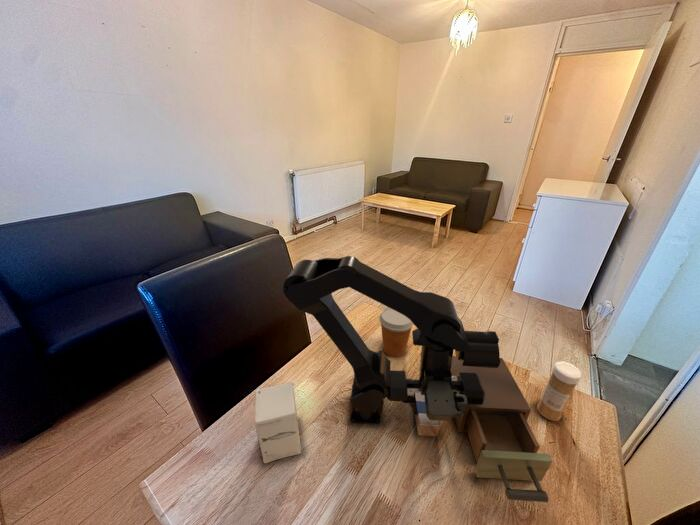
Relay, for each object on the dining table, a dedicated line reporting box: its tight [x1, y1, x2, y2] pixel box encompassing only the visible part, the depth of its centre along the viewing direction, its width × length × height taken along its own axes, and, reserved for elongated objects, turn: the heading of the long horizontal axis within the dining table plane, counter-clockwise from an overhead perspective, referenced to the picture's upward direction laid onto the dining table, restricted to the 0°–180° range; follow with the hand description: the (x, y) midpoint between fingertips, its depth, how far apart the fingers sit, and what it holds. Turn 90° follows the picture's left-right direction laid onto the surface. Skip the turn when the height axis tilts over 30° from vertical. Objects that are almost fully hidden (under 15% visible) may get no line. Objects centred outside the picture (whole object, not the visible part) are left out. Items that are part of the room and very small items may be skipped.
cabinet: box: [451, 355, 532, 433], centre depth 64 cm, size 14×13×8 cm
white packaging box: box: [254, 381, 302, 464], centre depth 55 cm, size 7×7×13 cm
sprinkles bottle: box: [536, 361, 583, 422], centre depth 61 cm, size 5×5×14 cm
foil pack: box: [414, 392, 440, 437], centre depth 62 cm, size 8×4×4 cm, turn 177°
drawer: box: [465, 409, 553, 503], centre depth 53 cm, size 17×11×6 cm, turn 177°
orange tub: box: [378, 306, 415, 357], centre depth 79 cm, size 10×10×12 cm
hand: (429, 413), depth 61 cm, fingers open, 6 cm apart
